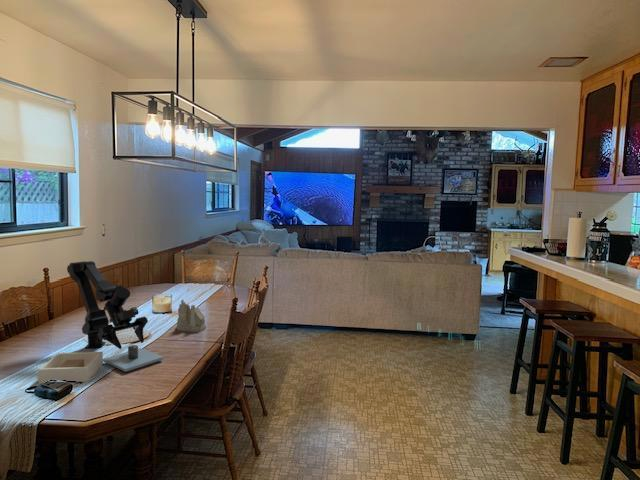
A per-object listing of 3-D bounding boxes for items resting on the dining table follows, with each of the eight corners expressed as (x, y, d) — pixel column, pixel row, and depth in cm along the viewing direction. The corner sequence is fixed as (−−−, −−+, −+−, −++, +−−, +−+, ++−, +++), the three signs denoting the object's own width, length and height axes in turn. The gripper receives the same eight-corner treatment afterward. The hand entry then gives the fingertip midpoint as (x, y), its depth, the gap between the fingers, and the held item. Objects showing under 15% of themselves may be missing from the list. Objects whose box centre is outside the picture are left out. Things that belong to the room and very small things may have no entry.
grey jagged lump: (197, 332, 212) (197, 301, 212) (169, 330, 218) (169, 299, 217) (215, 326, 227) (215, 297, 226) (189, 323, 232) (189, 295, 232)
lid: (102, 363, 173) (102, 347, 172) (140, 352, 186) (140, 337, 185) (125, 373, 164) (124, 357, 163) (163, 361, 176) (163, 345, 176)
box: (58, 365, 170) (58, 353, 169) (103, 364, 172) (102, 351, 172) (38, 383, 154) (38, 369, 153) (87, 381, 156) (87, 367, 156)
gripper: (100, 306, 168) (116, 340, 163) (145, 297, 183) (161, 328, 178) (90, 322, 174) (106, 356, 168) (135, 312, 189) (150, 343, 183)
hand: (132, 345), depth 174 cm, fingers open, 9 cm apart
